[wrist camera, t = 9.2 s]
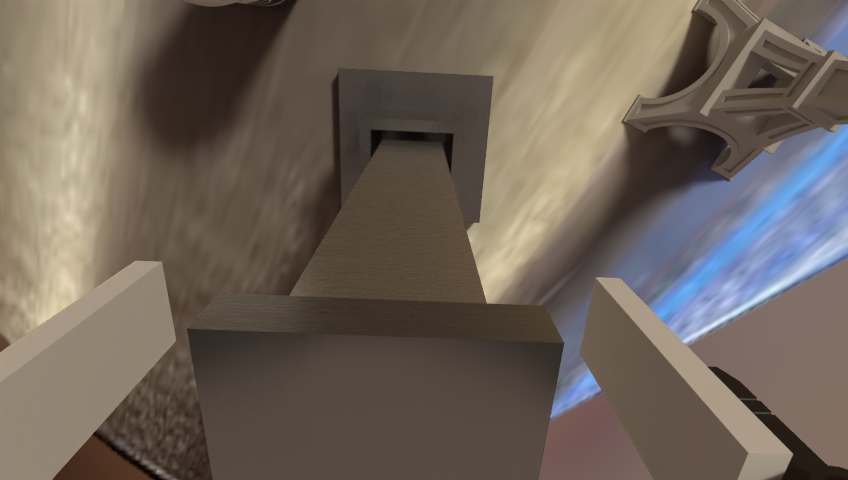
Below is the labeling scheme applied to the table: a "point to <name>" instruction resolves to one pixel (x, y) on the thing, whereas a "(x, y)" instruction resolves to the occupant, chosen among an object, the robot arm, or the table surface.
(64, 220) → the table surface
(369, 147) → the stand base
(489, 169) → the table surface
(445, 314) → the column
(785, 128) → the eiffel tower
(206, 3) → the coffee cup
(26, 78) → the table surface
